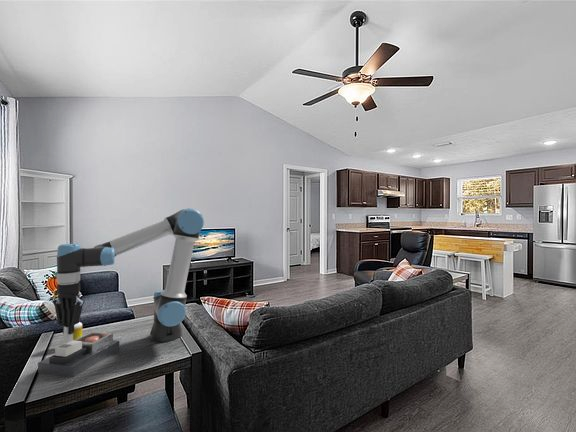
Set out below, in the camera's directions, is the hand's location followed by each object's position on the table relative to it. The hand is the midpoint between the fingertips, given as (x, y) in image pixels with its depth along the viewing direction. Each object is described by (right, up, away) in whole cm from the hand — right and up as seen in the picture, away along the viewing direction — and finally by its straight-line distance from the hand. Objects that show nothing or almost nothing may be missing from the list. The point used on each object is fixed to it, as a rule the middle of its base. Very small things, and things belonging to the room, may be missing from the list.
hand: (68, 341), depth 116 cm
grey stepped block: (+1, -10, +6) cm, 12 cm away
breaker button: (+2, -6, +11) cm, 13 cm away
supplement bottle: (-12, -11, +20) cm, 26 cm away
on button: (0, -4, 0) cm, 4 cm away
